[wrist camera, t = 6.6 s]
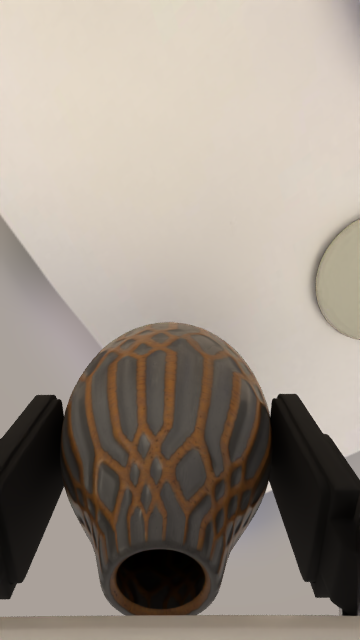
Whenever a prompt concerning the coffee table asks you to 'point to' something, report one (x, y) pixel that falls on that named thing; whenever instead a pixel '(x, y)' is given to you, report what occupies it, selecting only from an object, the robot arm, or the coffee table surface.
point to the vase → (165, 464)
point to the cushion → (341, 282)
